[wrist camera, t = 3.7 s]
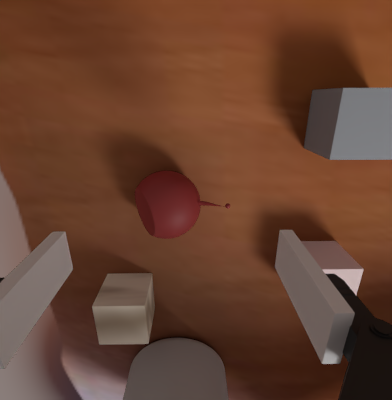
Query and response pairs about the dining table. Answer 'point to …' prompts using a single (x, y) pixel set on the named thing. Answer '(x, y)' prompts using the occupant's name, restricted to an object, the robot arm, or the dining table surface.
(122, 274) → the birch block
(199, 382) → the cylinder vase
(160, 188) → the fruit
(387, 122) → the slate grey block
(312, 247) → the dusty rose block
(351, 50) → the dining table surface
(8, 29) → the dining table surface
